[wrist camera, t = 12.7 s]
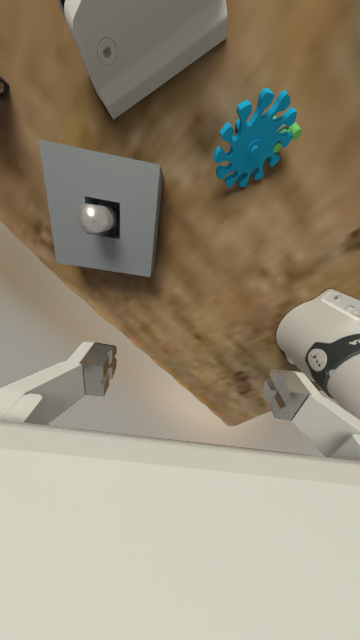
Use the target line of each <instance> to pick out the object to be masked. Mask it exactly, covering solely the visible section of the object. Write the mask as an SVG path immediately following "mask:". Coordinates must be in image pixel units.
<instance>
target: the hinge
mask: <svg viewBox="0 0 360 640" xmlns="http://www.w3.org/2000/svg"><path fill="white" fill-rule="evenodd" d="M57 1H58V4H59V7H60V9H61V12H62V14H63V16H64V19H65V21H66V23H67V26H68V28H69V30H70V33H71V35H72V37H73V40H74V42H75V44H76V46H77V49H78V51H79V53H80V56H81V58H82V60H83V63H84V65H85V67H86V70H87V72H88V74H89V77H90V79H91V81H92V83H93V86H94V88H95V90H96V93H97V94H98V96H99V97H100V99H101V100H102V102H103V103H104V105H105V106H106V108H107V110H108V112H109V114H110V115H111V117H112V118H113V120H114V119H115V118H117V117H118V116H119V115H121V114H122V113H124V112H125V111H126V110H128V109H129V108H131V107H132V106H133V105H135V104H136V103H137V102H139V101H140V100H142V99H143V98H144V97H146V96H147V95H149V94H150V93H151V92H153V91H154V90H155V89H157V88H158V87H160V86H161V85H162V84H164V83H165V82H167V81H168V80H169V79H171V78H172V77H173V76H175V75H176V74H178V73H179V72H180V71H182V70H183V69H184V68H186V67H187V66H189V65H190V64H191V63H193V62H194V61H196V60H197V59H198V58H200V57H201V56H202V55H204V54H205V53H207V52H208V51H209V50H211V49H212V48H214V47H215V46H216V45H218V44H219V43H220V42H222V41H223V40H225V39H226V34H227V22H228V20H227V7H226V0H57Z"/></svg>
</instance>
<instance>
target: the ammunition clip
mask: <svg viewBox="0 0 360 640" xmlns="http://www.w3.org/2000/svg"><path fill="white" fill-rule="evenodd" d="M8 86H9V84H8V83H7V82H6V81H5V80H4V79H3V78H2V77H1V76H0V98H1V99H2V100H4V97H5V94H6V91H7V89H8Z"/></svg>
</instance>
